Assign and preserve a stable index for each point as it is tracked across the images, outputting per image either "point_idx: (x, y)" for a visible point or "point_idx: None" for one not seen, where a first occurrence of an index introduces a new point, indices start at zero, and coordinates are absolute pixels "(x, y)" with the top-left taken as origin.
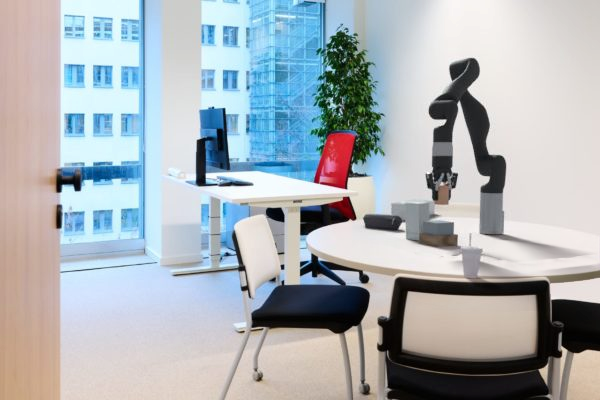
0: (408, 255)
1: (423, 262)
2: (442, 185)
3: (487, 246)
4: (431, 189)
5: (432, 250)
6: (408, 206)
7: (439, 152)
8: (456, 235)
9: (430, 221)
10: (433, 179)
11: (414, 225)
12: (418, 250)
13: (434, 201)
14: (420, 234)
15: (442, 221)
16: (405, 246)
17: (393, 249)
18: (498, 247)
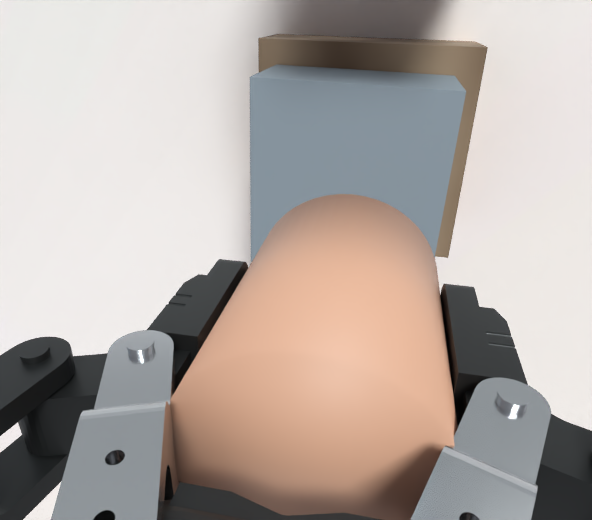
0: (14, 321)
1: (7, 433)
2: (312, 485)
3: (562, 338)
4: (104, 362)
5: (182, 282)
6: None
7: None
8: (435, 253)
9: (291, 137)
10: (63, 497)
11: None
12: (118, 248)
13: (260, 248)
14: (262, 53)
15: (394, 189)
16: (124, 101)
17: (14, 161)
18: (576, 388)
